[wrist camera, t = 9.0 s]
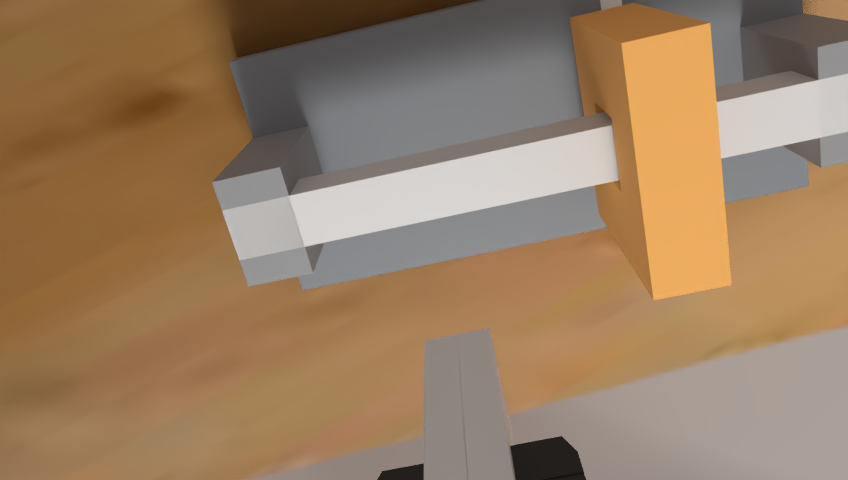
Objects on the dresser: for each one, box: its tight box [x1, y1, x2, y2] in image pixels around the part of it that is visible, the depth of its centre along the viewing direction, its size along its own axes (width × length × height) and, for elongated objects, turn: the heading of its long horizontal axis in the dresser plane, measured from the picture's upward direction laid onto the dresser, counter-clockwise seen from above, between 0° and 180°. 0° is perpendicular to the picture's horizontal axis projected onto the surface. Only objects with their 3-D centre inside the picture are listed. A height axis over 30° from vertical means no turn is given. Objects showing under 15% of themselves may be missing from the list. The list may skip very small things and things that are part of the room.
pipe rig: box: [212, 0, 848, 290], centre depth 35 cm, size 28×13×9 cm, turn 103°
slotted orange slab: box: [570, 3, 731, 300], centre depth 31 cm, size 3×10×10 cm, turn 13°
